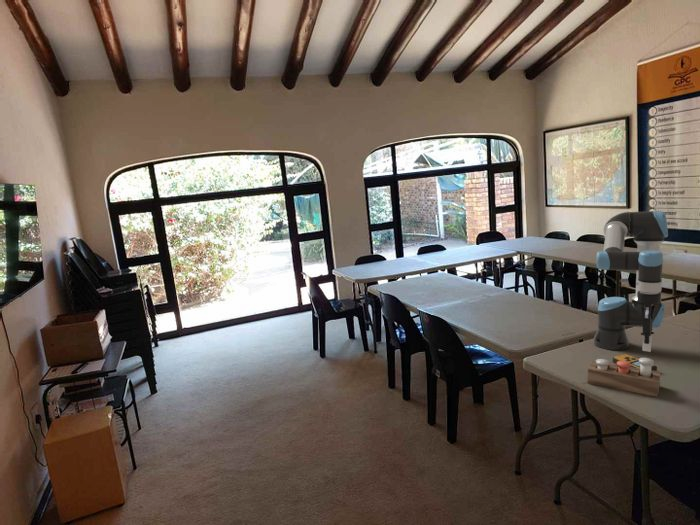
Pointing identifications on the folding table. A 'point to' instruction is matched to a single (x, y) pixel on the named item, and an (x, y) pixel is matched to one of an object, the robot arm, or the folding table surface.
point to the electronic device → (631, 361)
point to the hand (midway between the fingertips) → (646, 350)
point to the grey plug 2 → (645, 367)
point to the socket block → (624, 379)
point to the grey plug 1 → (602, 364)
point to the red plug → (623, 366)
